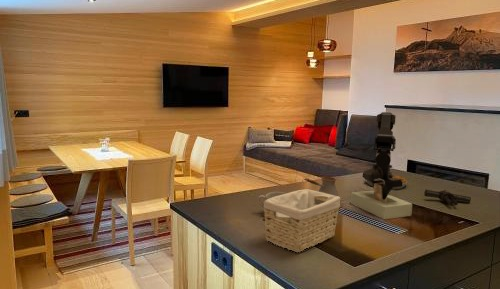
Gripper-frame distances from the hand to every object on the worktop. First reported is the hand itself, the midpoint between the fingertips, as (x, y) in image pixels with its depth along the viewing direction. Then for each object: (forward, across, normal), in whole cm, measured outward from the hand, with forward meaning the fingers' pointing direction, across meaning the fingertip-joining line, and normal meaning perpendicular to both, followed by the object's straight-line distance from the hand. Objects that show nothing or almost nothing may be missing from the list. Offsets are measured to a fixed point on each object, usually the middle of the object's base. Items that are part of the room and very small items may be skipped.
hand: (380, 197), depth 158 cm
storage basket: (+5, +18, -48) cm, 51 cm away
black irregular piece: (+5, +5, +36) cm, 36 cm away
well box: (+5, 0, 0) cm, 5 cm away
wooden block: (+2, 0, 0) cm, 2 cm away
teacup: (+5, -9, -46) cm, 47 cm away
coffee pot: (+5, -8, -25) cm, 27 cm away
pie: (+6, -33, +32) cm, 46 cm away
